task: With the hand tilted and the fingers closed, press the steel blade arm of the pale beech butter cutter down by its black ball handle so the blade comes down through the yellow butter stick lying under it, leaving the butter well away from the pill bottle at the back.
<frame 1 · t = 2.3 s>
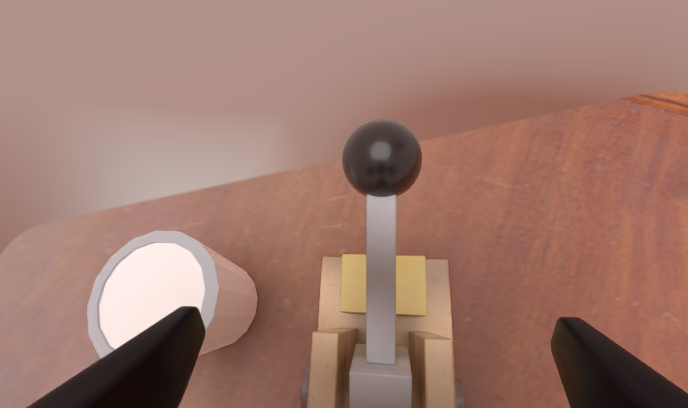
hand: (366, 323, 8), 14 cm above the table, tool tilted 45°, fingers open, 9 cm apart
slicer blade: (381, 276, 13), point 10 cm above the table, hinge at 20.0°
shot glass: (219, 304, 23), on the table
butter: (383, 289, 21), point 1 cm above the table, touching butter cutter
butter cutter: (383, 367, 20), on the table
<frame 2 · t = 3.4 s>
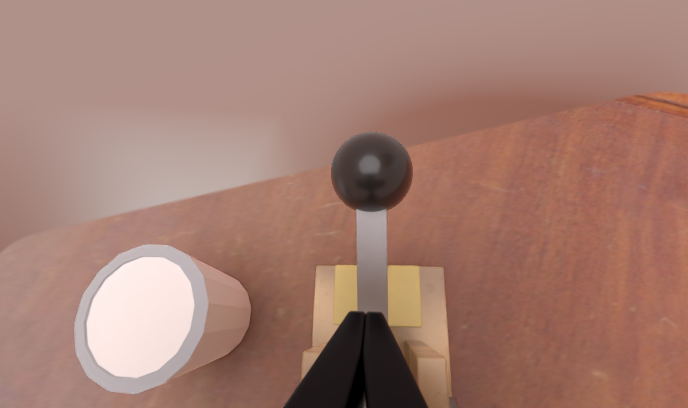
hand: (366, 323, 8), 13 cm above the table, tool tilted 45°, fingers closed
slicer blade: (372, 292, 12), point 10 cm above the table, hinge at 20.0°
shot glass: (212, 315, 23), on the table
butter: (378, 298, 20), point 1 cm above the table, touching butter cutter
butter cutter: (379, 377, 20), on the table
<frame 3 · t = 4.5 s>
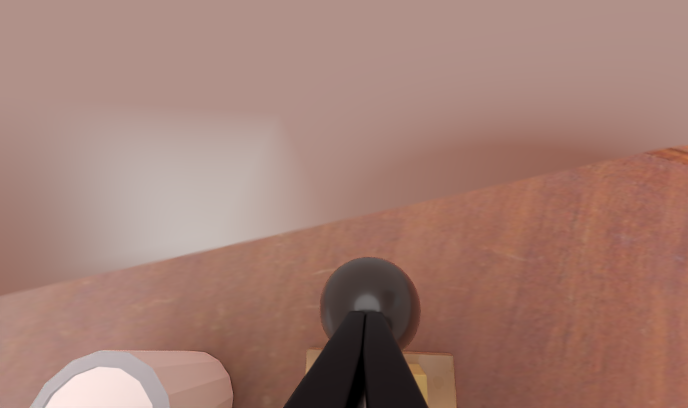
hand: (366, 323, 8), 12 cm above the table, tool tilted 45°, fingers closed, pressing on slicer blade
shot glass: (189, 401, 20), on the table
butter: (378, 393, 18), point 1 cm above the table, touching butter cutter
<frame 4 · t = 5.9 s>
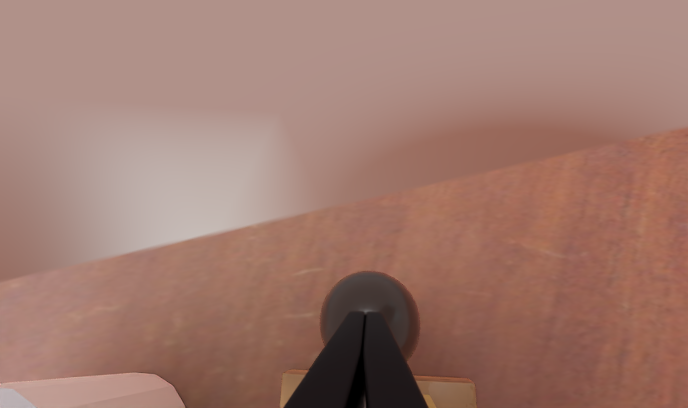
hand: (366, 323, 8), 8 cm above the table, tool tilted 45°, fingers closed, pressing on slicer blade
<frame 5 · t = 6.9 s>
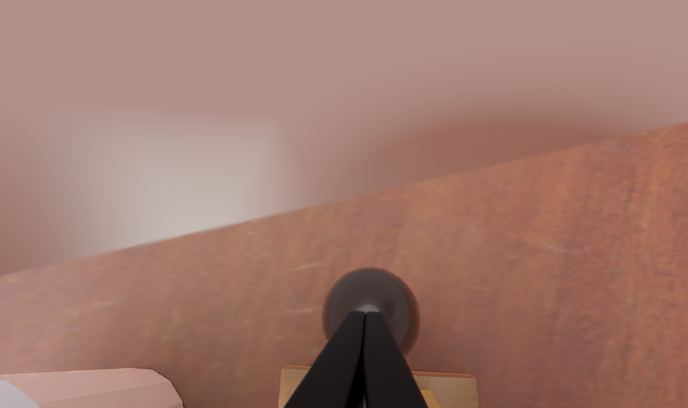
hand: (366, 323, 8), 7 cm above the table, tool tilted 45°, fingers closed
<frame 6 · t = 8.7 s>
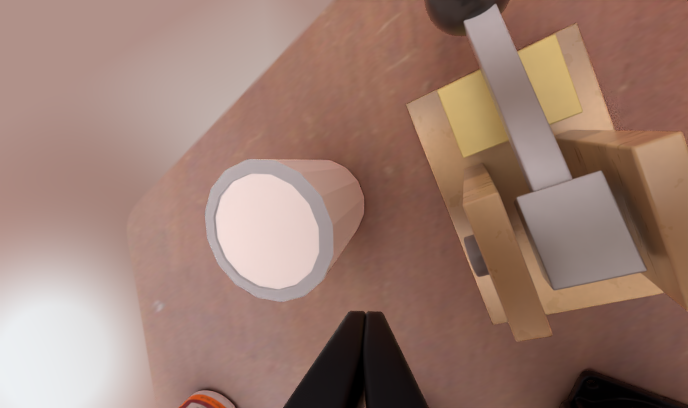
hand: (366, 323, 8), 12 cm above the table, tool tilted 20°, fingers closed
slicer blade: (513, 99, 11), point 7 cm above the table, hinge at -16.0°
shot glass: (324, 201, 22), on the table
butter: (497, 106, 16), point 1 cm above the table, touching butter cutter
butter cutter: (525, 187, 18), on the table
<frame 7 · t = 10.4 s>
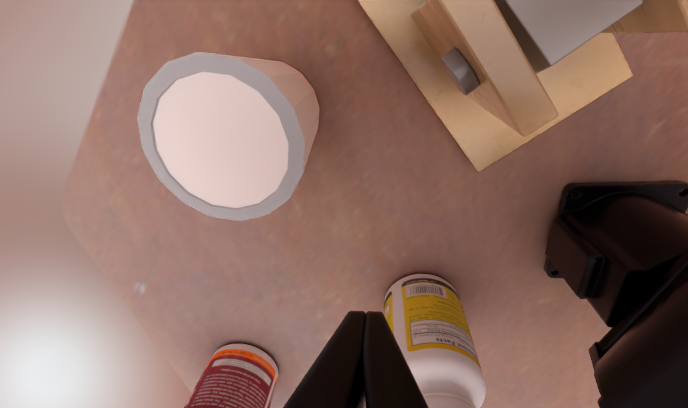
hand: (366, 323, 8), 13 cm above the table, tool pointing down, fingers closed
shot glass: (273, 111, 20), on the table
pill bottle: (247, 363, 30), on the table
supplement bottle: (421, 298, 25), on the table
butter cutter: (477, 18, 16), on the table
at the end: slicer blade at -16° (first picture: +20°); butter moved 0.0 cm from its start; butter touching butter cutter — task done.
